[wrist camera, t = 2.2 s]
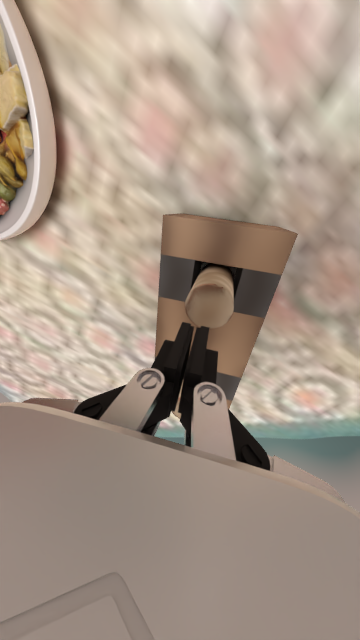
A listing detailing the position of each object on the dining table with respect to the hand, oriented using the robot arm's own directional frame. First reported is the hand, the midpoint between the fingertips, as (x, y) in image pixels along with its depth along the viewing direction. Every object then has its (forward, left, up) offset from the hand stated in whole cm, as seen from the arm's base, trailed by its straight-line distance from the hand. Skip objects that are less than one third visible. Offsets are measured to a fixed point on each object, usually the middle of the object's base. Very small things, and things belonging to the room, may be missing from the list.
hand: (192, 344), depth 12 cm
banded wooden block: (0, +7, -18) cm, 19 cm away
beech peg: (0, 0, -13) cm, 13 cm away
